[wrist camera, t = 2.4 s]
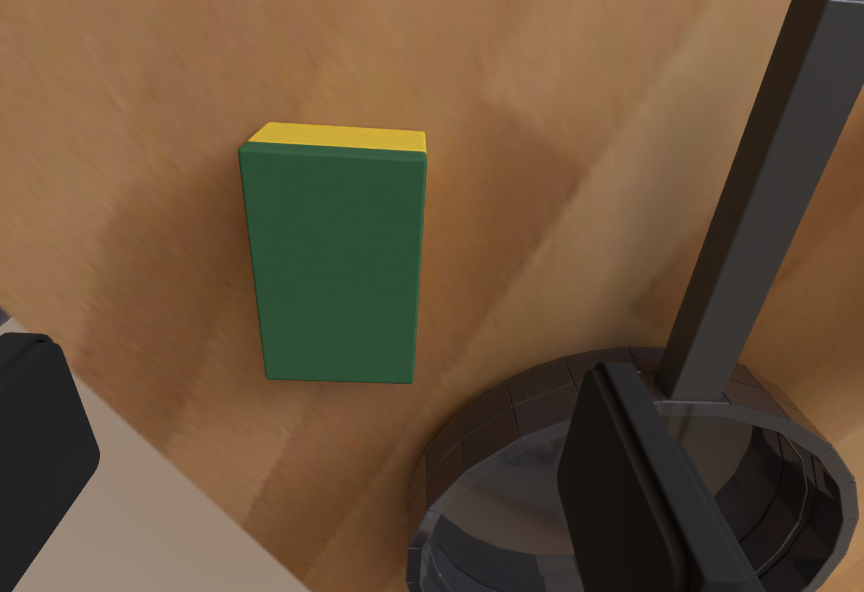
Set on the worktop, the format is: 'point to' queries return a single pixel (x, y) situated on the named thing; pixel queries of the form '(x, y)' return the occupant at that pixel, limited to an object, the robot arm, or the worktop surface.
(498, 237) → the worktop surface
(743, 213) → the pan handle
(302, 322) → the sponge
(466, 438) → the pan
